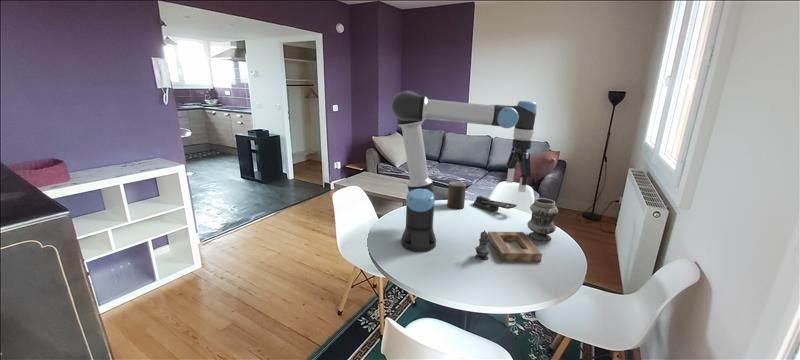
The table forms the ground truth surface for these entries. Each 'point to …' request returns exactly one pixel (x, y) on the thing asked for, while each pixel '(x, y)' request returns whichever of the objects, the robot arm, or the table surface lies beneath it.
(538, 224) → the apothecary jar
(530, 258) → the block
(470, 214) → the table surface
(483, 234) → the stone chess piece
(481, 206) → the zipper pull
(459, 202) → the pillar candle
